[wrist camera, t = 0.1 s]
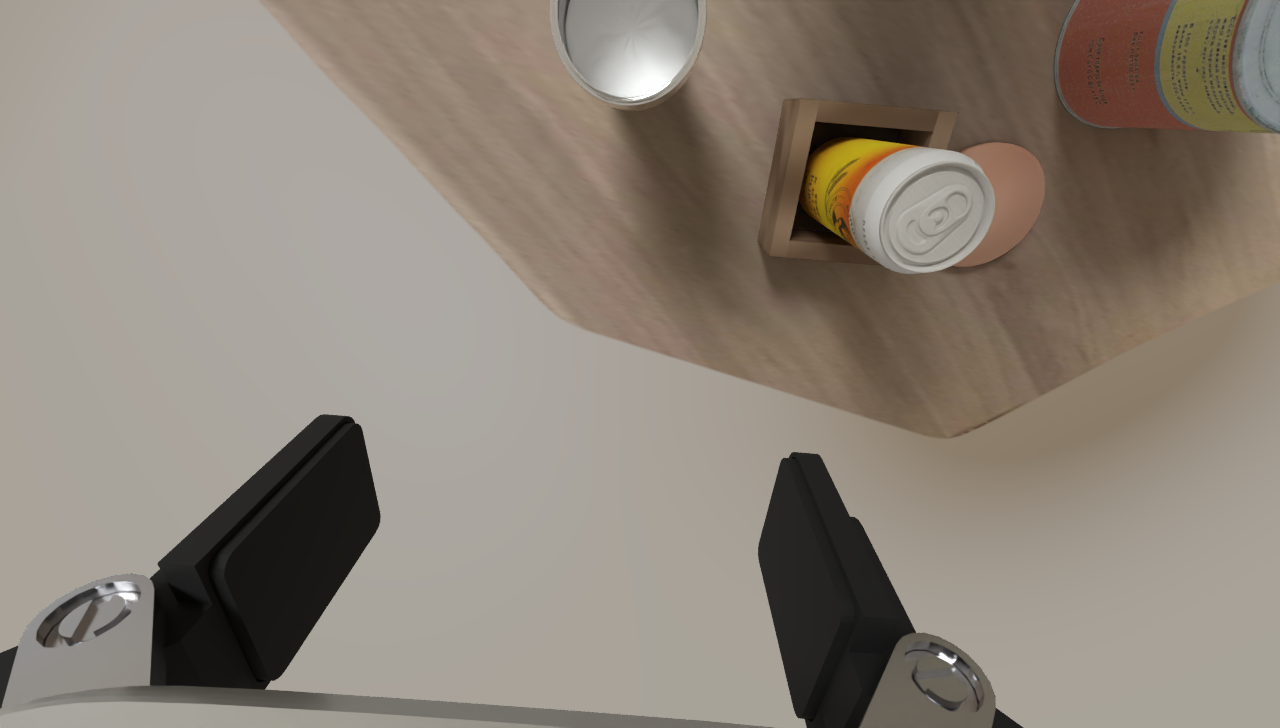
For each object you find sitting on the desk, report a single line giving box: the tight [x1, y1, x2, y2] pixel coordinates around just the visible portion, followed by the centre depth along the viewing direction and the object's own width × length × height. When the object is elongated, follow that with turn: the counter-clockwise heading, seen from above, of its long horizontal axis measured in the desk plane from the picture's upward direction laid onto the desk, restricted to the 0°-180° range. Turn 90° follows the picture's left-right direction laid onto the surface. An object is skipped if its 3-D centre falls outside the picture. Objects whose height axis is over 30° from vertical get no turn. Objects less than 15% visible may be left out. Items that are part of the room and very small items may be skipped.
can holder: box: [758, 99, 959, 265], centre depth 35 cm, size 10×10×4 cm
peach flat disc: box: [953, 142, 1046, 267], centre depth 37 cm, size 9×9×1 cm
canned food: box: [1054, 0, 1280, 134], centre depth 27 cm, size 11×11×12 cm
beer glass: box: [550, 0, 707, 111], centre depth 27 cm, size 7×7×15 cm
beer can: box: [799, 137, 995, 274], centre depth 31 cm, size 6×6×15 cm
